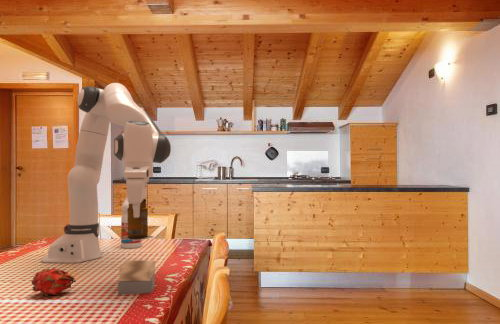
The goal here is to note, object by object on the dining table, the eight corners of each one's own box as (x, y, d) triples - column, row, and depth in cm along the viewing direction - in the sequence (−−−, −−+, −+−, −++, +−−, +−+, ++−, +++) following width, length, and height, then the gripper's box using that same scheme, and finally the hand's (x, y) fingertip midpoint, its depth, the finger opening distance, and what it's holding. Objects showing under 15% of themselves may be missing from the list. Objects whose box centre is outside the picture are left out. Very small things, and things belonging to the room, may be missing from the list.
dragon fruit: (28, 300, 110) (71, 303, 113) (23, 290, 104) (70, 293, 107) (37, 272, 116) (78, 275, 119) (33, 261, 109) (77, 265, 112)
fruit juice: (145, 245, 182) (146, 188, 182) (133, 249, 173) (133, 189, 173) (129, 244, 185) (130, 187, 185) (116, 248, 176) (117, 188, 177)
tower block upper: (118, 281, 112) (119, 267, 112) (126, 272, 121) (126, 260, 121) (149, 280, 113) (149, 267, 113) (154, 272, 122) (154, 260, 122)
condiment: (143, 234, 122) (142, 197, 122) (155, 237, 116) (155, 199, 116) (121, 237, 117) (121, 199, 117) (133, 241, 111) (132, 200, 111)
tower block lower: (117, 296, 111) (117, 282, 111) (123, 285, 121) (123, 273, 121) (152, 294, 113) (152, 280, 113) (154, 283, 123) (154, 271, 123)
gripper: (132, 171, 127) (131, 212, 127) (123, 172, 107) (122, 220, 107) (151, 171, 128) (151, 211, 128) (145, 172, 108) (145, 219, 108)
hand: (138, 215), depth 117 cm, fingers closed on condiment, 6 cm apart
